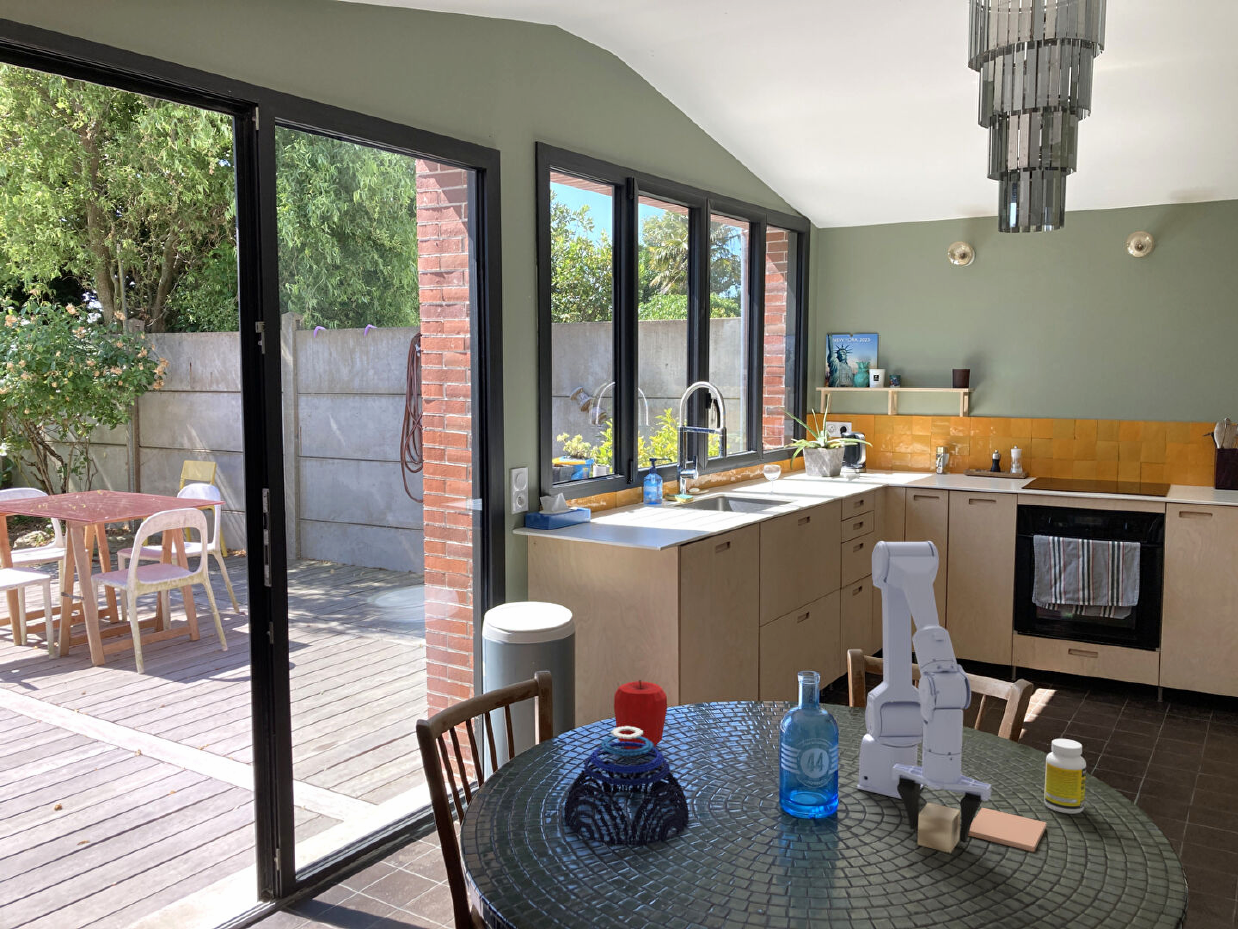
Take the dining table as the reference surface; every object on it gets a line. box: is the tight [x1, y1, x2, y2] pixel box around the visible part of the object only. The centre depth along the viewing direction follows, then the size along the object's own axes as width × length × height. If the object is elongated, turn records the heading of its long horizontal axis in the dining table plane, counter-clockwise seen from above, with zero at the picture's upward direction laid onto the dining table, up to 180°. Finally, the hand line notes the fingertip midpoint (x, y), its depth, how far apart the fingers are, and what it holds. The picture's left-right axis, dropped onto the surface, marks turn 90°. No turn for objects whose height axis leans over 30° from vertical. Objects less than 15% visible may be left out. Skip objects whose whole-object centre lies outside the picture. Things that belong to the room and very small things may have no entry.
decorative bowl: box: [563, 726, 690, 846], centre depth 161 cm, size 20×20×14 cm
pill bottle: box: [1043, 738, 1087, 815], centre depth 167 cm, size 6×6×11 cm
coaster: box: [968, 807, 1047, 853], centre depth 158 cm, size 10×10×1 cm
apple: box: [613, 679, 668, 749], centre depth 191 cm, size 11×10×14 cm
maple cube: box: [917, 802, 961, 854], centre depth 154 cm, size 5×5×5 cm
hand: (938, 833), depth 154 cm, fingers open, 7 cm apart
